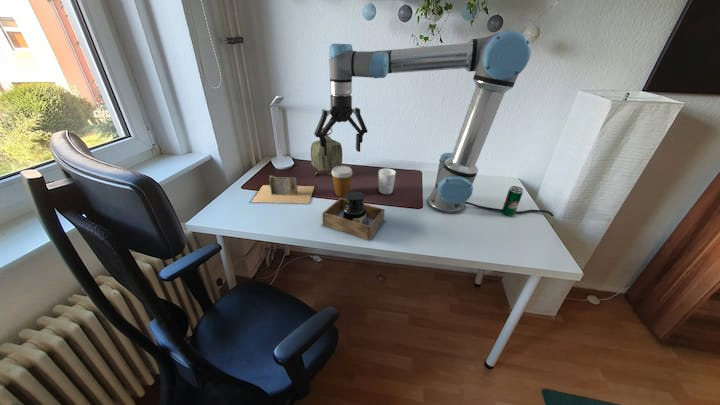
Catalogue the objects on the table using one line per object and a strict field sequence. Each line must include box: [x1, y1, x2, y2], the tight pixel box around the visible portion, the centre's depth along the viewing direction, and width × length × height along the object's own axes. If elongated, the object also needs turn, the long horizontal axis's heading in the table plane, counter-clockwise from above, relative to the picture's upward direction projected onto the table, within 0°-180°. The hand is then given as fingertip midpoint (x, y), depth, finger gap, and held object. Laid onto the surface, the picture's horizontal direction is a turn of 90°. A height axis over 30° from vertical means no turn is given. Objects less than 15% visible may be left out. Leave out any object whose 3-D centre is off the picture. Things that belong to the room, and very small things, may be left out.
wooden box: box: [322, 197, 385, 241], centre depth 104 cm, size 20×14×6 cm
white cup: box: [377, 167, 397, 195], centre depth 127 cm, size 8×8×10 cm
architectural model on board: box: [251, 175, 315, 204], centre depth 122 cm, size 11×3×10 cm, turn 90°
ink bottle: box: [342, 191, 367, 225], centre depth 103 cm, size 10×9×12 cm
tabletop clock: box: [310, 127, 343, 177], centre depth 138 cm, size 14×9×25 cm, turn 130°
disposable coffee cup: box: [330, 165, 354, 198], centre depth 123 cm, size 10×10×12 cm
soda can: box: [501, 185, 524, 217], centre depth 111 cm, size 5×5×12 cm
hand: (341, 152), depth 106 cm, fingers open, 13 cm apart
